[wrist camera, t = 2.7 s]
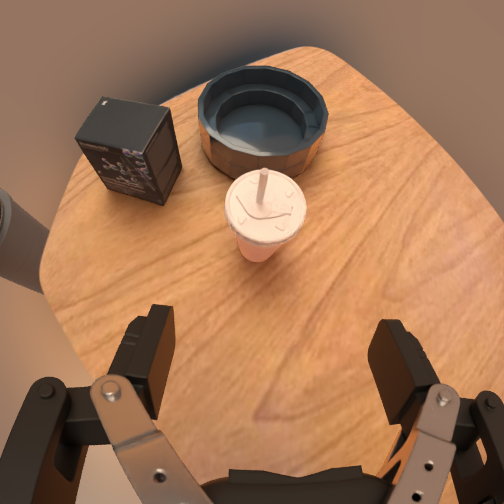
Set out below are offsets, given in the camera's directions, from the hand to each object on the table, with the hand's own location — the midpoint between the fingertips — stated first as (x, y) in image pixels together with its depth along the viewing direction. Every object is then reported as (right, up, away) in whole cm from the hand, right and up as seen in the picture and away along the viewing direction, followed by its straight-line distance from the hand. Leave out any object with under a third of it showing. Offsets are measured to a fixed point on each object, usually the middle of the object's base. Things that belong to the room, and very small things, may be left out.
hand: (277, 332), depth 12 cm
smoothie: (-1, +4, +22) cm, 22 cm away
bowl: (0, +17, +26) cm, 31 cm away
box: (-13, +12, +24) cm, 29 cm away
